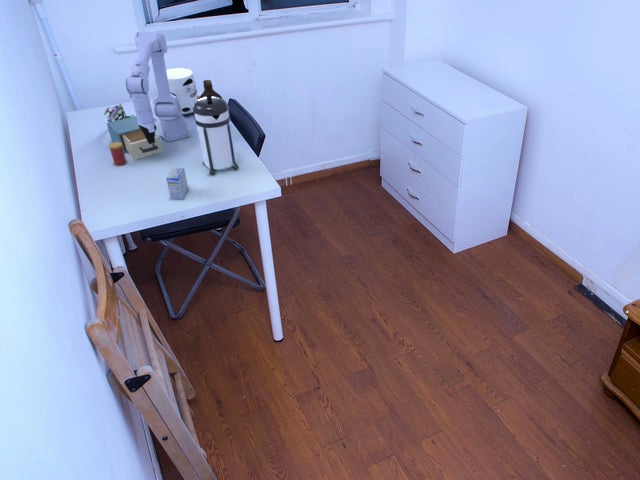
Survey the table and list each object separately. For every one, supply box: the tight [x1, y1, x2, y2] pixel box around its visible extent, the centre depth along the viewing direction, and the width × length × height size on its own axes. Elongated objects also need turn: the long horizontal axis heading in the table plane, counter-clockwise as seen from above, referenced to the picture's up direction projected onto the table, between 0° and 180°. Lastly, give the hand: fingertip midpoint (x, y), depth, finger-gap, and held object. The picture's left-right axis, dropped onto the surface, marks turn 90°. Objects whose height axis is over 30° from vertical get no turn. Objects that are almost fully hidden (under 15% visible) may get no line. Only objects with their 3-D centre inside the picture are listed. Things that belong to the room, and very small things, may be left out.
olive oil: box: [198, 79, 224, 100], centre depth 231 cm, size 11×11×25 cm
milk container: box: [166, 67, 200, 116], centre depth 255 cm, size 17×17×18 cm
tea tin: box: [108, 142, 127, 167], centre depth 214 cm, size 5×5×8 cm
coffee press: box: [193, 93, 240, 176], centre depth 209 cm, size 17×16×30 cm
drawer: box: [121, 130, 164, 161], centre depth 221 cm, size 16×12×7 cm
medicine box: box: [166, 167, 189, 200], centre depth 197 cm, size 8×4×9 cm, turn 5°
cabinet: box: [106, 115, 141, 154], centre depth 229 cm, size 13×13×8 cm
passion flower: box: [103, 103, 135, 123], centre depth 242 cm, size 11×11×12 cm
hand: (151, 142), depth 211 cm, fingers closed
